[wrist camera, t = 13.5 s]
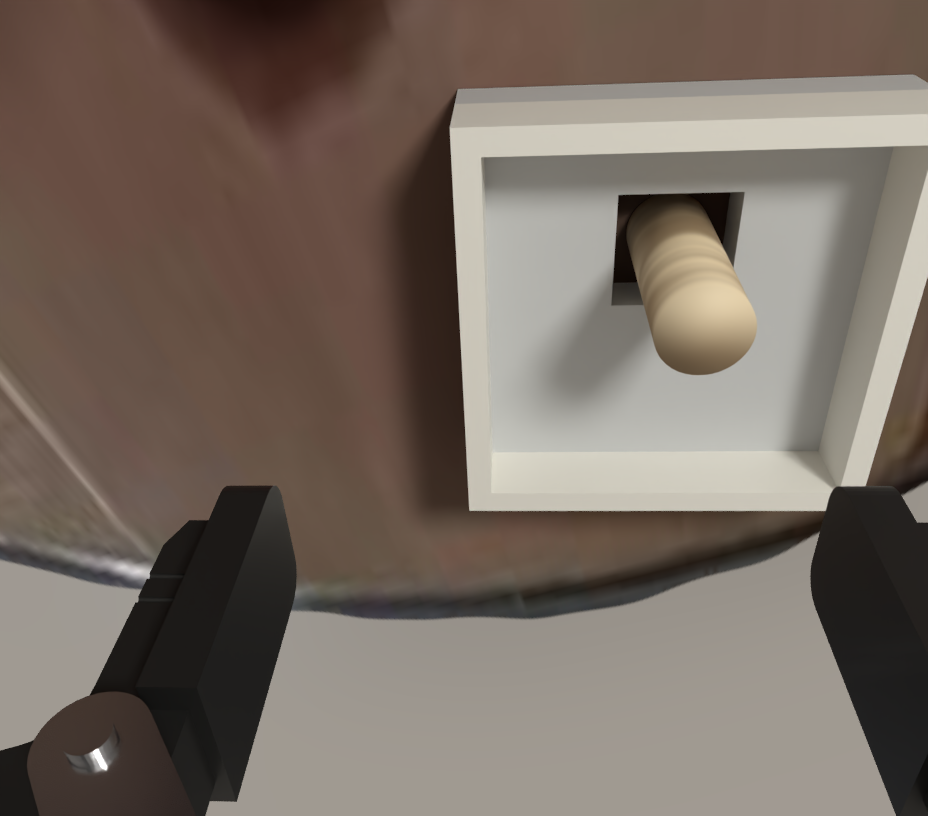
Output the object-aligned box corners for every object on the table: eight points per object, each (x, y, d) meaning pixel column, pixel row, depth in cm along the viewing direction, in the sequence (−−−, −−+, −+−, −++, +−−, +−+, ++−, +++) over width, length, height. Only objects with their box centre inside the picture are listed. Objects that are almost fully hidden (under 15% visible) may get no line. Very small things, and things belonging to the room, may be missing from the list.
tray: (457, 89, 38) (449, 127, 33) (913, 74, 37) (976, 112, 32) (473, 442, 49) (469, 510, 44) (822, 440, 48) (858, 510, 43)
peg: (628, 192, 40) (657, 288, 32) (713, 190, 40) (764, 286, 32) (623, 268, 43) (649, 375, 34) (703, 267, 42) (749, 374, 34)
